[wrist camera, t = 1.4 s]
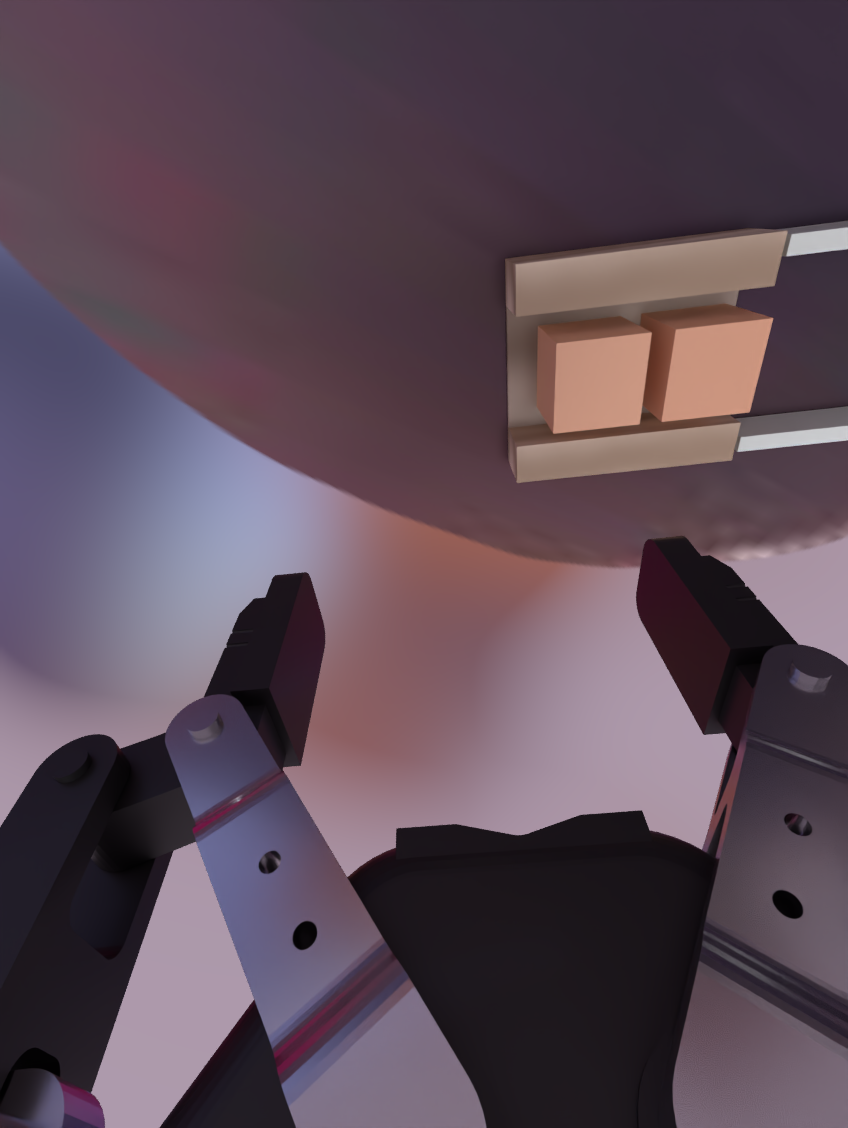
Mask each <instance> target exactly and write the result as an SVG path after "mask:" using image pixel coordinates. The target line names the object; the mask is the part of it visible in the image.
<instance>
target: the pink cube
mask: <svg viewBox="0 0 848 1128" xmlns="http://www.w3.org/2000/svg"><path fill="white" fill-rule="evenodd" d="M651 335H652V332H650V331H648V330H646V329H644V328H643V327H641V326H639V325H637V324H635V323H633V322H631V321H629V320H627V319H625V318H624V317H622V316H616V317H608V318H599V319H591V320H582V321H574V322H566V323H557V324H549V325H540V326H538V350H537V408H538V410H539V411H540V413H541V415H542V416H543V418H544V419H545V421H546V423H547V424H548V426H549V428H550V429H551V431H552V432H553V434H556V433H565V432H574V431H583V430H593V429H602V428H611V427H620V426H629V425H638V424H640V419H641V411H642V403H643V396H644V388H645V381H646V373H647V366H648V358H649V350H650V343H651Z"/></svg>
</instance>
